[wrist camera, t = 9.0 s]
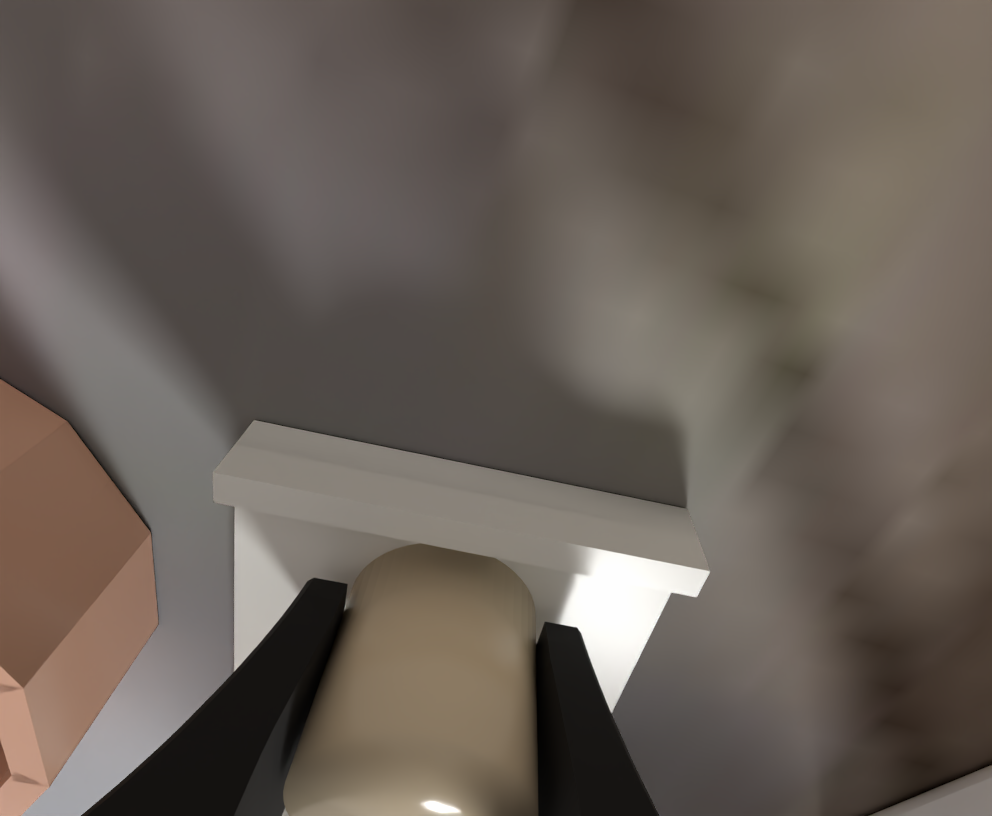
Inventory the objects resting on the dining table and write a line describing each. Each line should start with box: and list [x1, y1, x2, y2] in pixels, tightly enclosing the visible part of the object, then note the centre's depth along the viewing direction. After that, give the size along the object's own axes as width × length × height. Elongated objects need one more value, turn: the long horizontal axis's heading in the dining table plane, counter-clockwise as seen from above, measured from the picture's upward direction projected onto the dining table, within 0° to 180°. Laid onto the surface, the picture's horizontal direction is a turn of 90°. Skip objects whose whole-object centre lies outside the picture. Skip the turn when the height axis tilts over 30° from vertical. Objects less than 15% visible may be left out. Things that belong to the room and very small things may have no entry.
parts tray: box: [213, 420, 710, 816], centre depth 13 cm, size 12×8×2 cm, turn 169°
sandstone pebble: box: [283, 543, 538, 816], centre depth 10 cm, size 4×4×4 cm
